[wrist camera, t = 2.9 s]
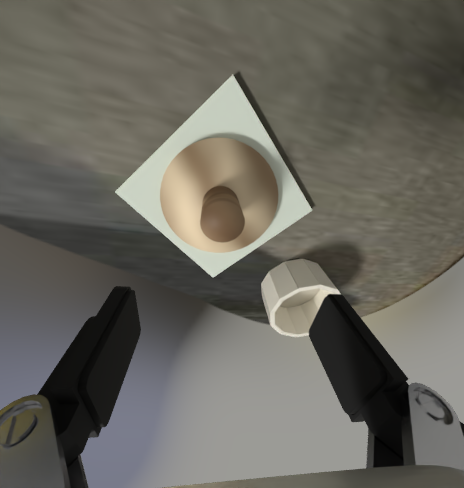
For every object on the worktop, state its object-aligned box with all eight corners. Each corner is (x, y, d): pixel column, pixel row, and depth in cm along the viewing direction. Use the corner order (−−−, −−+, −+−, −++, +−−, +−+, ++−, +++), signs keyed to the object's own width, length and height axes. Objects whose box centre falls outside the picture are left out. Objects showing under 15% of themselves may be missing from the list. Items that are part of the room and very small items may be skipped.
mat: (232, 76, 17) (232, 74, 17) (310, 208, 25) (312, 210, 24) (117, 190, 21) (114, 191, 21) (213, 274, 29) (213, 277, 28)
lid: (229, 104, 18) (236, 96, 13) (296, 208, 24) (318, 230, 19) (135, 194, 21) (112, 215, 16) (214, 265, 27) (215, 296, 22)
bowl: (306, 247, 28) (326, 272, 23) (333, 286, 32) (354, 314, 27) (249, 283, 30) (255, 312, 26) (281, 315, 35) (292, 344, 30)
